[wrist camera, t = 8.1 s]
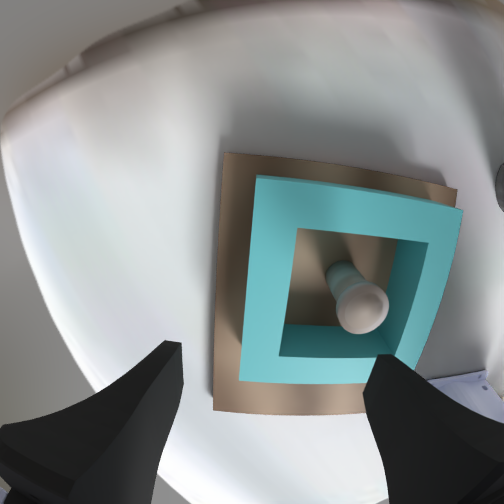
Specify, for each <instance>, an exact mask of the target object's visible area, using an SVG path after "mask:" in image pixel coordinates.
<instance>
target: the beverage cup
mask: <svg viewBox="0 0 504 504" xmlns="http://www.w3.org/2000/svg"><path fill="white" fill-rule="evenodd" d="M496 196H497V201H498V204H499V206H500V208H501V209H502V211H503V212H504V164H503V165H502V166H501V167H500V170H499V172H498V175H497V179H496Z"/></svg>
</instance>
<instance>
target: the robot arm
mask: <svg viewBox="0 0 504 504" xmlns="http://www.w3.org/2000/svg"><path fill="white" fill-rule="evenodd" d="M487 376H488V371H487V370H484V371H479V372H474V373H469V374H464V375H458V376H452V377H446V378H440V379H433V380H427V381H426V380H425V379H424V378H422V377H421V376H420V375H419V374H417V373H416V372H415V371H414V370H412V369H411V368H410V367H409V366H407V365H406V364H405V363H403V362H402V361H401V360H399V359H398V358H397V357H395V356H394V355H392V354H378V355H377V358H376V360H375V363H374V366H373V368H372V371H371V373H370V376H369V378H368V381H367V383H366V386H365V388H364V391H363V393H362V394H363V399H364V405H365V410H366V414H367V418H368V421H369V423H370V426H371V429H372V432H373V435H374V438H375V441H376V444H377V447H378V449H379V452H380V455H381V458H382V462H383V466H384V470H385V475H386V481H387V487H388V495H389V504H504V402H503V401H502V400H501V398H500V397H499V396H498V394H497V393H496V392H495V391H494V389H493V388H492V387H491V386H490V384H489V383H488V382H487V381H486V377H487ZM183 385H184V381H183V365H182V344H181V343H180V342H173V341H166V340H165V341H163V342H162V343H161V344H160V345H159V346H158V347H156V348H155V349H154V350H153V351H152V352H151V353H150V354H149V355H147V356H146V357H145V358H144V359H143V360H142V361H140V362H139V363H138V364H137V365H136V366H134V367H133V368H132V369H131V370H129V371H128V372H127V373H126V374H124V375H123V376H122V377H120V378H119V379H117V380H116V381H115V382H113V383H112V384H110V385H109V386H107V387H106V388H104V389H103V390H101V391H100V392H98V393H96V394H94V395H93V396H91V397H89V398H87V399H85V400H83V401H81V402H79V403H77V404H74V405H72V406H70V407H68V408H65V409H63V410H61V411H58V412H55V413H52V414H49V415H46V416H42V417H40V418H36V419H32V420H27V421H22V422H17V423H11V424H5V425H3V426H2V427H1V428H0V476H1V477H2V478H3V479H4V481H5V482H6V483H7V484H8V485H9V486H10V487H11V490H10V491H9V493H7V492H6V491H5V490H4V489H2V488H1V487H0V504H151V500H152V495H153V489H154V484H155V479H156V475H157V470H158V466H159V462H160V458H161V455H162V452H163V449H164V446H165V444H166V441H167V438H168V435H169V433H170V430H171V427H172V424H173V422H174V419H175V416H176V413H177V410H178V407H179V403H180V399H181V394H182V390H183Z"/></svg>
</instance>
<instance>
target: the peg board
mask: <svg viewBox="0 0 504 504" xmlns="http://www.w3.org/2000/svg"><path fill="white" fill-rule="evenodd" d="M256 175H267V176H278V177H287V178H296V179H305V180H313V181H321V182H329V183H336V184H343V185H350V186H356V187H363V188H369V189H375V190H381V191H387V192H392V193H398V194H403V195H408V196H413V197H418V198H423V199H428V200H432V201H436V202H439V203H442V204H445V205H448V206H451V207H455V203H456V196H457V189H453V188H449V187H446V186H442V185H438V184H434V183H429V182H425V181H421V180H417V179H412V178H407V177H403V176H398V175H393V174H388V173H383V172H378V171H372V170H367V169H361V168H355V167H349V166H343V165H337V164H330V163H323V162H316V161H308V160H300V159H291V158H282V157H273V156H262V155H250V154H237V153H224V160H223V173H222V187H221V202H220V218H219V234H218V253H217V274H216V298H215V327H214V371H213V410H215V411H224V412H235V413H247V414H264V415H341V414H357V413H366V410H365V405H364V399H363V394H362V393H363V391H364V388H365V386H366V383H353V384H286V383H265V382H250V381H239V372H240V360H241V348H242V337H243V325H244V313H245V301H246V290H247V278H248V266H249V255H250V243H251V232H252V220H253V209H254V197H255V186H256ZM397 242H398V239H395V238H387V237H379V236H370V235H361V234H353V233H344V232H334V231H325V230H315V229H305V228H297V234H296V242H295V250H294V257H293V265H292V272H291V279H290V286H289V293H288V300H287V306H286V313H285V319H284V324H294V325H314V326H340V327H343V328H344V329H345V330H346V331H348V332H350V333H353V334H364V333H368V332H370V331H372V330H374V329H375V328H377V327H378V326H379V325H380V324H381V323H382V322H383V321H384V319H385V318H386V316H387V313H388V309H389V301H388V297H387V295H386V290H387V286H388V282H389V278H390V274H391V270H392V265H393V261H394V256H395V252H396V247H397Z"/></svg>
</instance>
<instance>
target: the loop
mask: <svg viewBox="0 0 504 504" xmlns="http://www.w3.org/2000/svg"><path fill="white" fill-rule="evenodd" d="M462 214H463V210H461V209H458V208H455V207H451V206H448V205H445V204H442V203H439V202H436V201H432V200H428V199H423V198H418V197H413V196H408V195H403V194H398V193H392V192H387V191H381V190H375V189H369V188H363V187H356V186H350V185H343V184H336V183H329V182H321V181H313V180H305V179H296V178H287V177H278V176H267V175H256V186H255V197H254V209H253V220H252V232H251V243H250V255H249V266H248V278H247V290H246V301H245V313H244V325H243V337H242V348H241V360H240V372H239V381H250V382H265V383H286V384H353V383H367V381H368V378H369V376H370V373H371V371H372V368H373V366H374V363H375V360H376V358H377V355H378V354H392V355H394V356H395V357H397V358H398V359H399V360H401V361H402V362H403V363H405V364H406V365H407V366H409V367H410V368H411V369H412V370H414V369H415V367H416V365H417V363H418V360H419V358H420V356H421V353H422V351H423V348H424V346H425V344H426V341H427V338H428V336H429V333H430V331H431V328H432V325H433V323H434V320H435V317H436V314H437V311H438V308H439V305H440V302H441V299H442V296H443V293H444V289H445V286H446V283H447V279H448V276H449V272H450V268H451V265H452V261H453V257H454V253H455V249H456V244H457V240H458V235H459V230H460V225H461V220H462ZM297 228H305V229H315V230H325V231H334V232H344V233H353V234H361V235H370V236H379V237H387V238H395V239H398V242H397V247H396V252H395V256H394V261H393V265H392V270H391V274H390V278H389V282H388V286H387V290H386V295H387V297H388V301H389V309H388V313H387V316H386V318H385V319H384V321H383V322H382V323H381V324H380V325H379V326H378V327H377V328H375V329H374V330H372V331H370V332H368V333H364V334H353V333H350V332H348V331H346V330H345V329H344V328H343V327H340V326H314V325H294V324H284V319H285V313H286V306H287V300H288V293H289V286H290V279H291V272H292V265H293V257H294V250H295V242H296V234H297Z"/></svg>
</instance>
